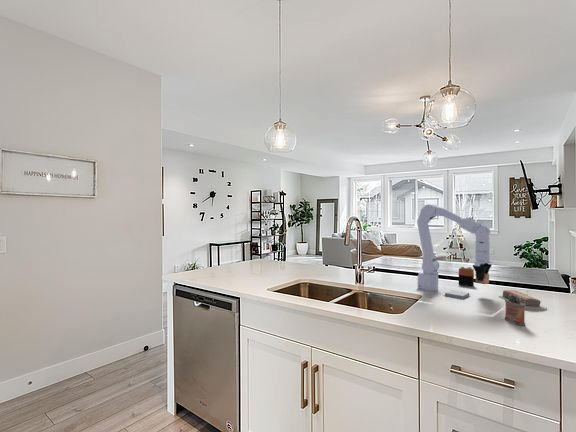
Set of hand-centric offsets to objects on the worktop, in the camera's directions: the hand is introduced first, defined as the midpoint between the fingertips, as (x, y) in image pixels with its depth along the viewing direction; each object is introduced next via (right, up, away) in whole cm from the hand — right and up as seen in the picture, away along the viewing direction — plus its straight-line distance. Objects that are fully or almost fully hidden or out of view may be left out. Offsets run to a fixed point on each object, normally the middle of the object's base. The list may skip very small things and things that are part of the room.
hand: (482, 279), depth 157 cm
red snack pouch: (-8, -9, -35) cm, 37 cm away
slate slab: (-12, -8, 0) cm, 14 cm away
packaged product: (+11, -9, -11) cm, 18 cm away
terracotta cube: (0, -2, 0) cm, 2 cm away
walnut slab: (-12, -9, 0) cm, 15 cm away
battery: (+6, -8, +26) cm, 28 cm away
